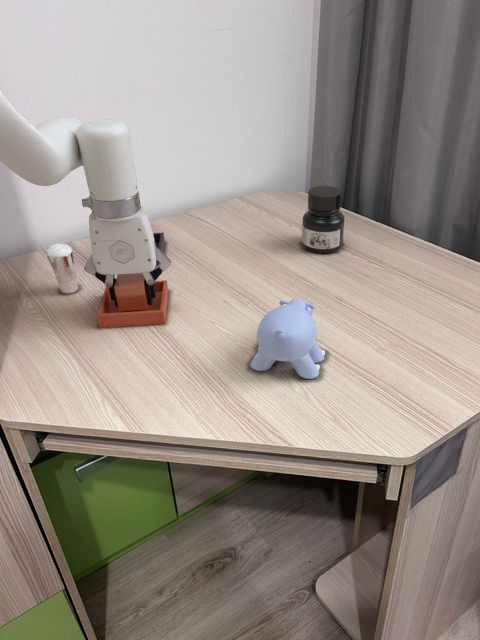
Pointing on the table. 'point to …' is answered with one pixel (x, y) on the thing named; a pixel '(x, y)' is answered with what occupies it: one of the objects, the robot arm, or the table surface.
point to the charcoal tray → (159, 243)
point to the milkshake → (63, 267)
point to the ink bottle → (323, 220)
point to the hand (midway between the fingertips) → (134, 301)
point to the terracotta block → (131, 292)
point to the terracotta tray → (152, 315)
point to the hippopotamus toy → (289, 339)
